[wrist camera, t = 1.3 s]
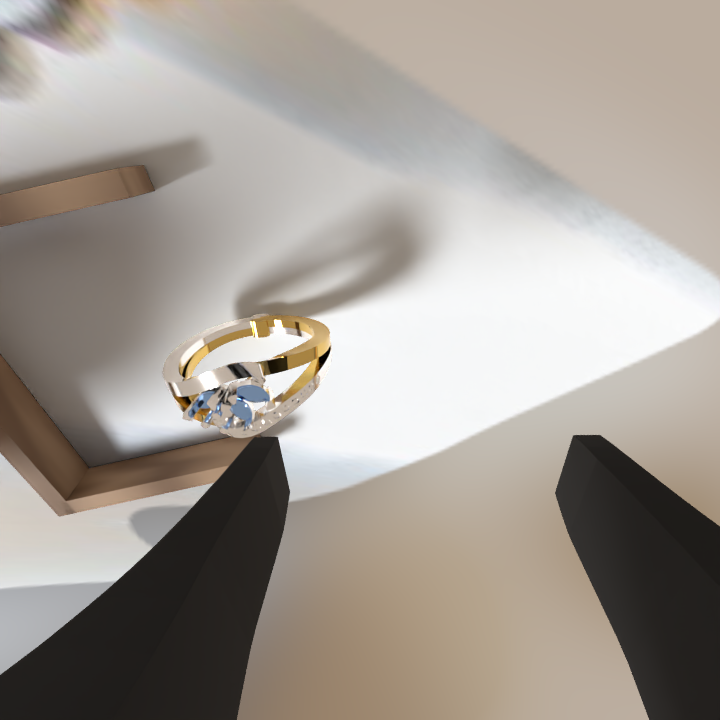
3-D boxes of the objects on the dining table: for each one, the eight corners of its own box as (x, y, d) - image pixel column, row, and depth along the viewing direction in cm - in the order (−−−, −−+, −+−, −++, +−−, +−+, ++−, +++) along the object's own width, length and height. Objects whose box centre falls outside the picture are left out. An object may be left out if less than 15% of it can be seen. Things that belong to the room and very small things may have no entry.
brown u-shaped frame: (82, 482, 24) (59, 516, 22) (-127, 226, 16) (-197, 239, 14) (263, 443, 24) (258, 472, 22) (143, 165, 16) (116, 168, 14)
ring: (201, 353, 20) (143, 460, 13) (185, 297, 19) (109, 385, 12) (331, 342, 21) (339, 441, 14) (326, 286, 19) (332, 365, 12)
